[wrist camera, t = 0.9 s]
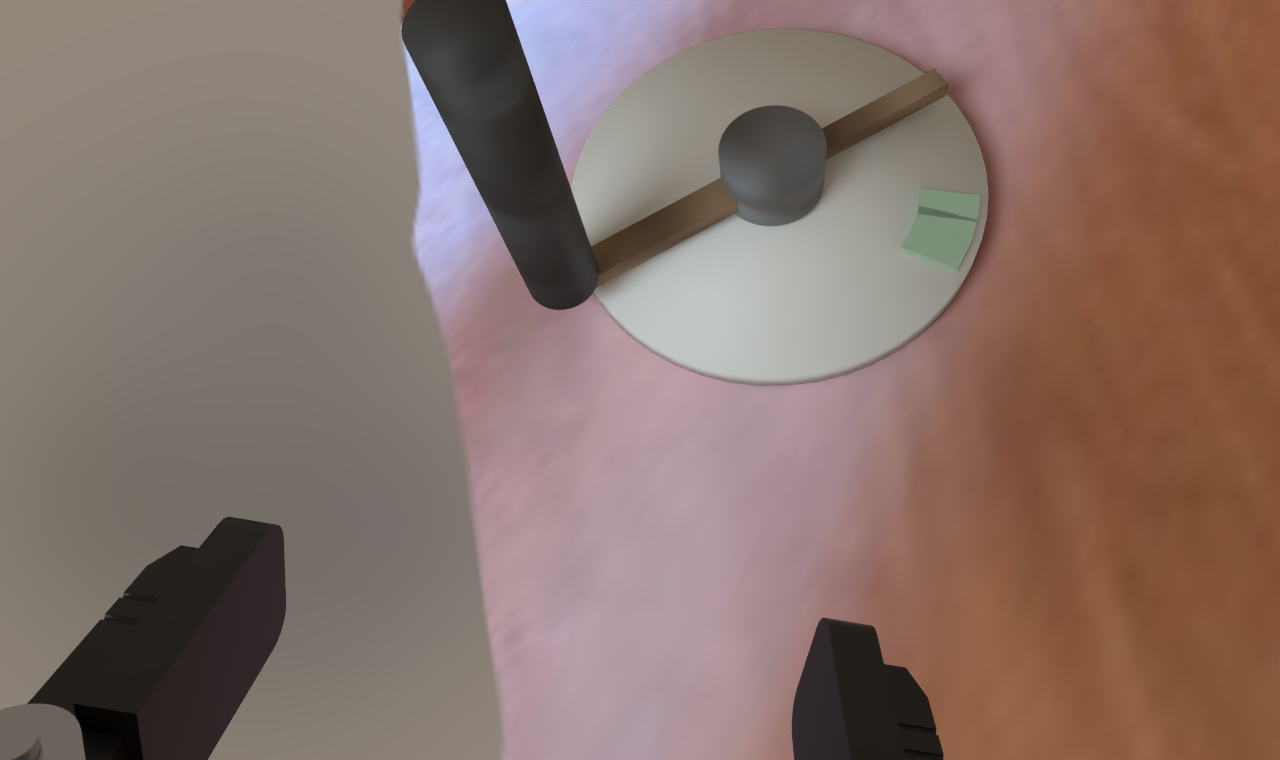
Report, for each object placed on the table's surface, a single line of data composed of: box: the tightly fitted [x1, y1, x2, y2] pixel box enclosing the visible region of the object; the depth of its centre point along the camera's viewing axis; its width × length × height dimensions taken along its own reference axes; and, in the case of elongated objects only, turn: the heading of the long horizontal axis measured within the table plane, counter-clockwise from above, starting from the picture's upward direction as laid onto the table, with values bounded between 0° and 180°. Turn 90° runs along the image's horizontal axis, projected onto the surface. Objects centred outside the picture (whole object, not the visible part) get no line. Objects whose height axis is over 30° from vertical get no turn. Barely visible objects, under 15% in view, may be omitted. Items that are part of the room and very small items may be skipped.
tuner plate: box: [571, 29, 989, 385], centre depth 40 cm, size 18×18×1 cm
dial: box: [402, 0, 948, 310], centre depth 32 cm, size 20×4×15 cm, turn 118°
